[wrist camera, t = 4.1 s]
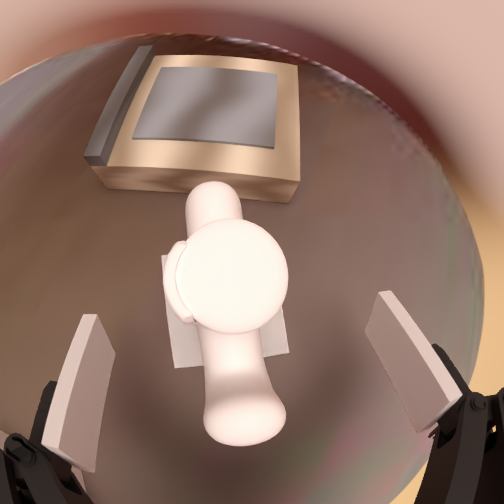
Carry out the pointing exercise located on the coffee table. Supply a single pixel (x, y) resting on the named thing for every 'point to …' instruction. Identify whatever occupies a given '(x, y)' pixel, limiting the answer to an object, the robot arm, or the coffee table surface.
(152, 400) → the coffee table surface
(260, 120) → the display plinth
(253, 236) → the figurine
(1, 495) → the robot arm
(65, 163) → the coffee table surface
